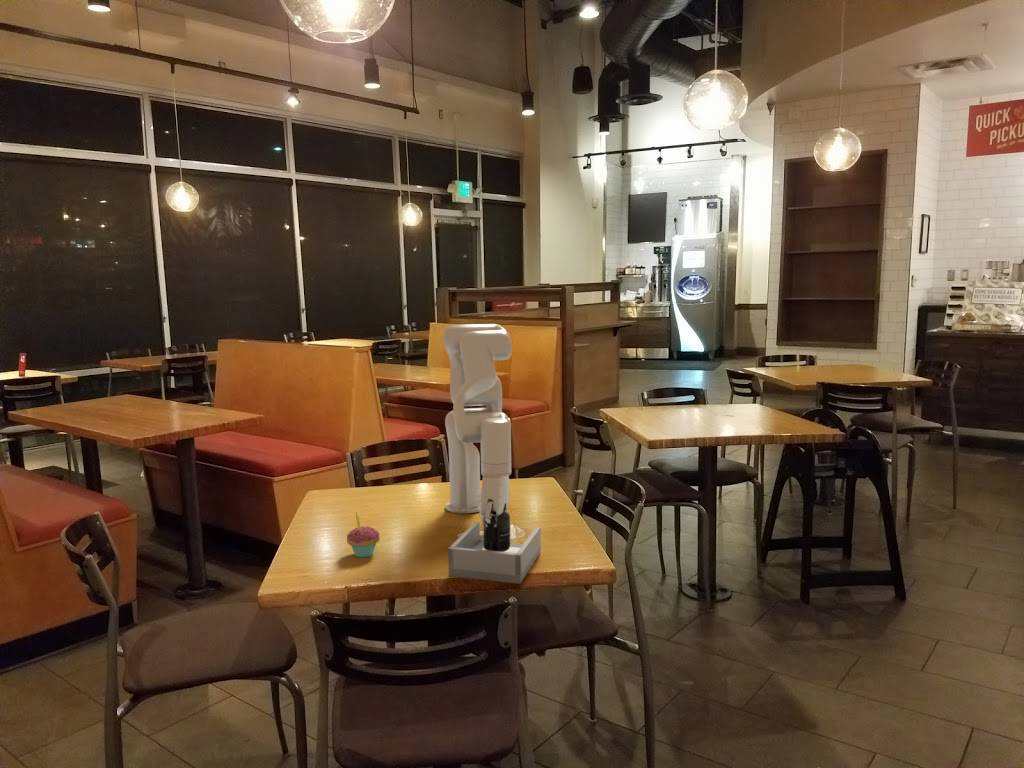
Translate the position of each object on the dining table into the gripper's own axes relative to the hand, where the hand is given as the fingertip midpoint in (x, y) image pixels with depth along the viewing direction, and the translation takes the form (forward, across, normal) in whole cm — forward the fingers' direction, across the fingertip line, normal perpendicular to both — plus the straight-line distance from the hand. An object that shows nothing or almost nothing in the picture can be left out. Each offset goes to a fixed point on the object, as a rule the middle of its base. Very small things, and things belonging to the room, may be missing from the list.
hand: (497, 535), depth 182 cm
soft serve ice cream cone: (+7, -20, -8) cm, 23 cm away
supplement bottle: (+4, 0, 0) cm, 4 cm away
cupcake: (+7, +3, -36) cm, 37 cm away
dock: (+7, +1, 0) cm, 7 cm away
